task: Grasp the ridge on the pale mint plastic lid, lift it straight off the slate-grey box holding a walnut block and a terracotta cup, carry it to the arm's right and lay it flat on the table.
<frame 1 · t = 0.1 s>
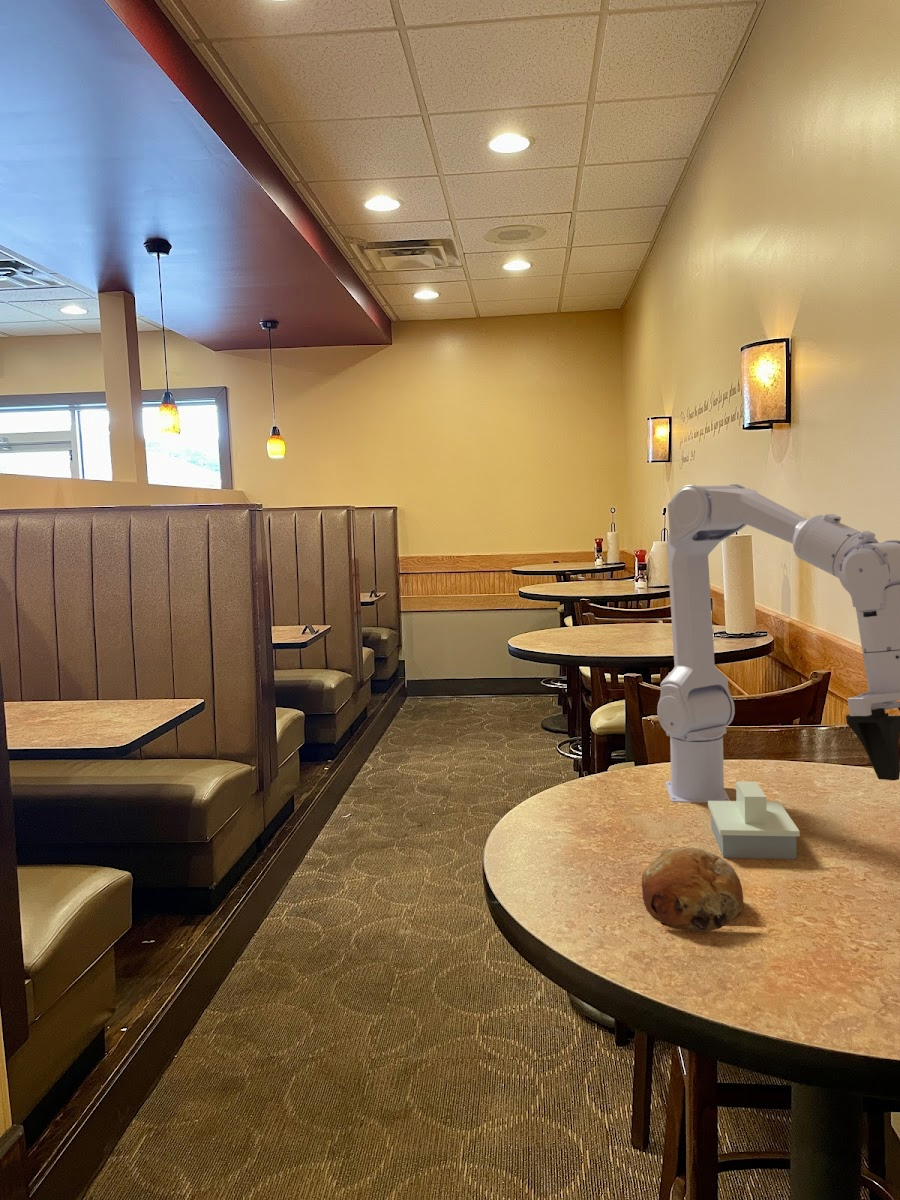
box: (751, 846, 102), on the table
bread roll: (691, 913, 86), on the table
lid: (751, 820, 102), point 3 cm above the table, touching box
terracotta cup: (754, 848, 100), resting on box
walnut block: (749, 837, 103), resting on box
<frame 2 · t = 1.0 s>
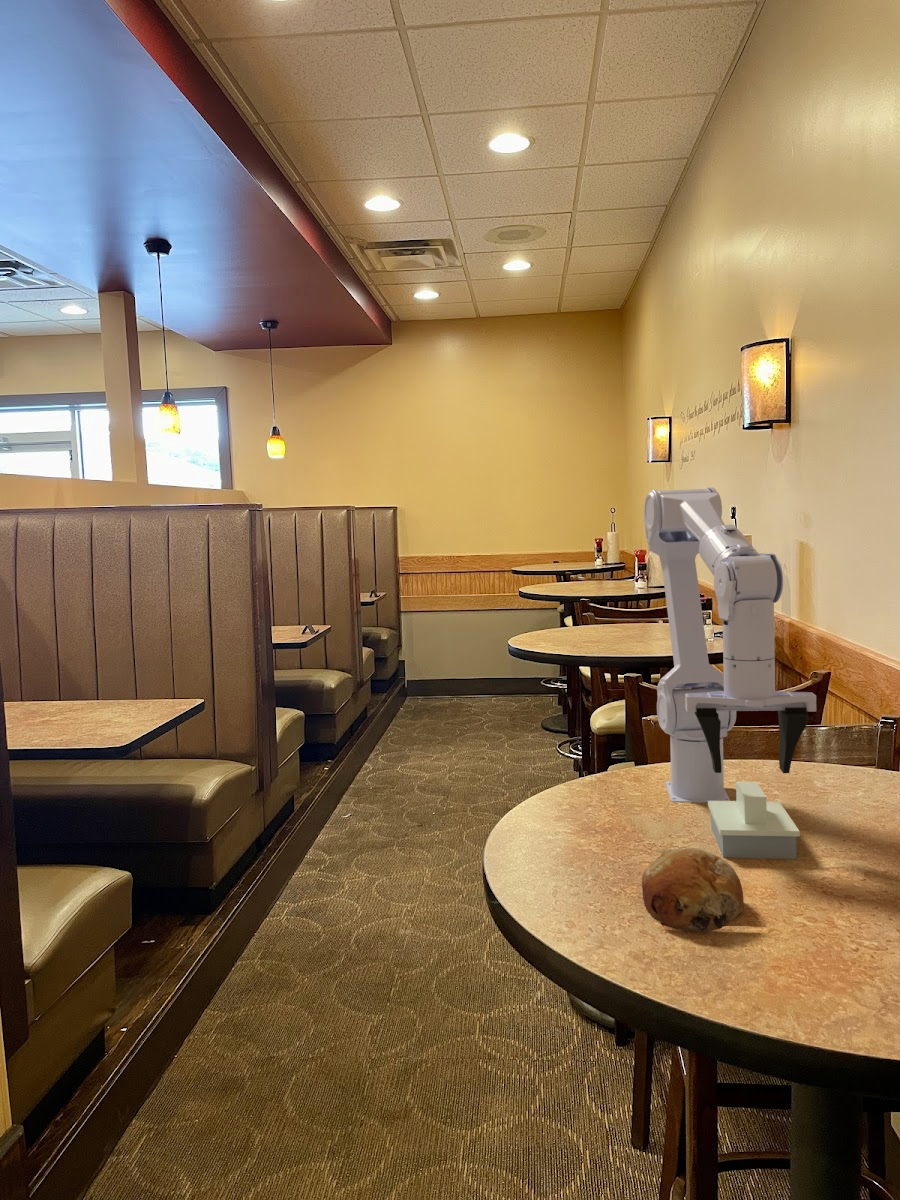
hand: (750, 770, 101), 9 cm above the table, tool pointing down, fingers open, 7 cm apart
nothing on the table moved.
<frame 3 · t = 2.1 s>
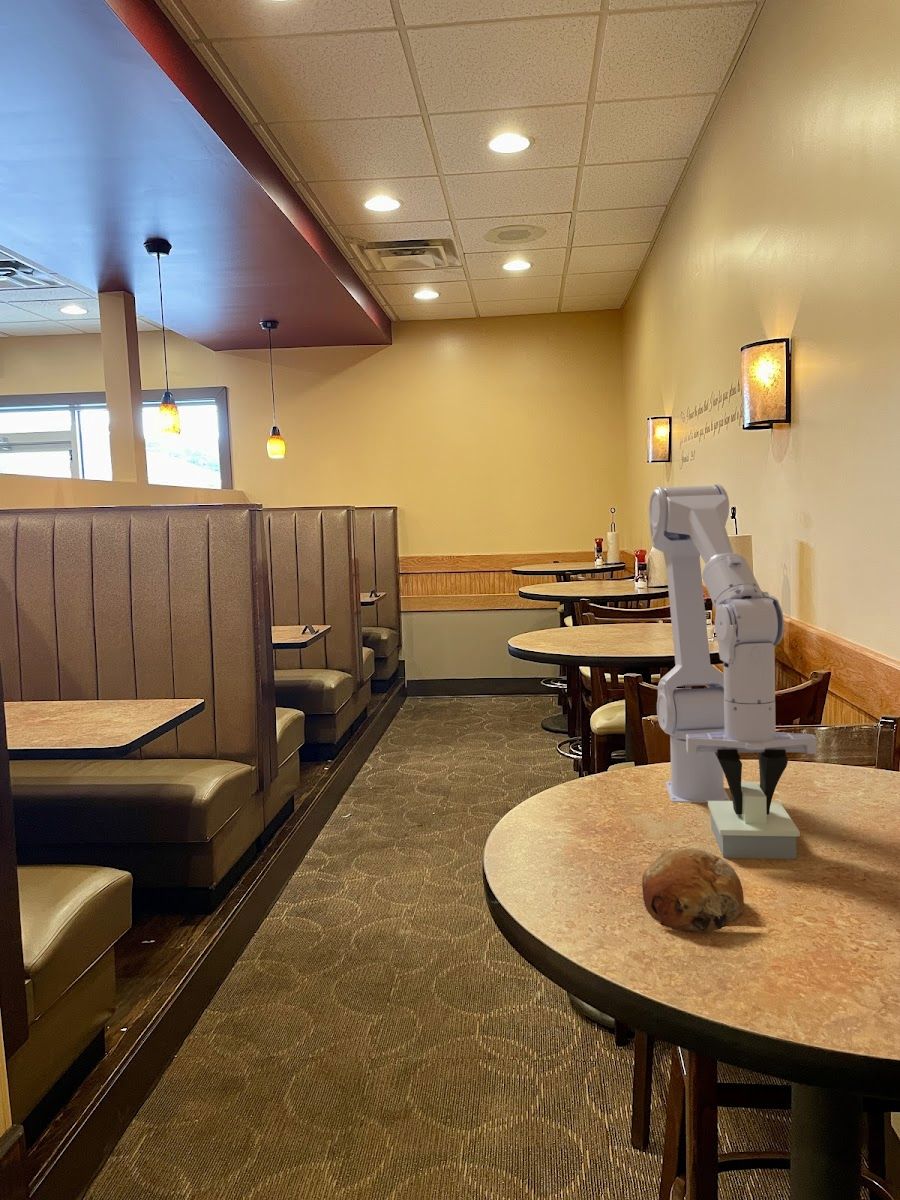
hand: (751, 811, 101), 4 cm above the table, tool pointing down, fingers closed on lid, 2 cm apart
lid: (751, 820, 102), point 3 cm above the table, touching box, gripper
everything else where it was.
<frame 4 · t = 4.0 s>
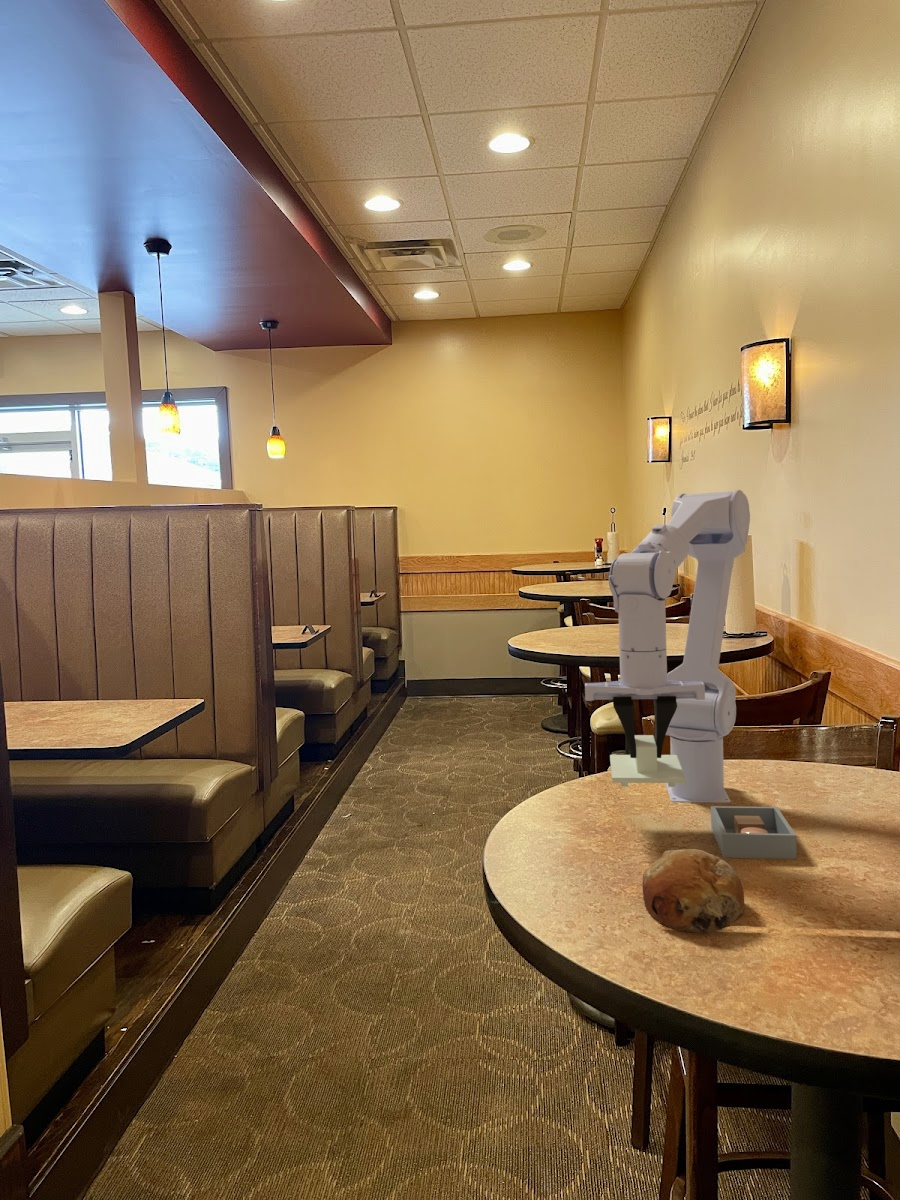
hand: (645, 756, 107), 10 cm above the table, tool pointing down, fingers closed on lid, 2 cm apart
lid: (645, 770, 107), point 8 cm above the table, touching gripper
everything else where it was.
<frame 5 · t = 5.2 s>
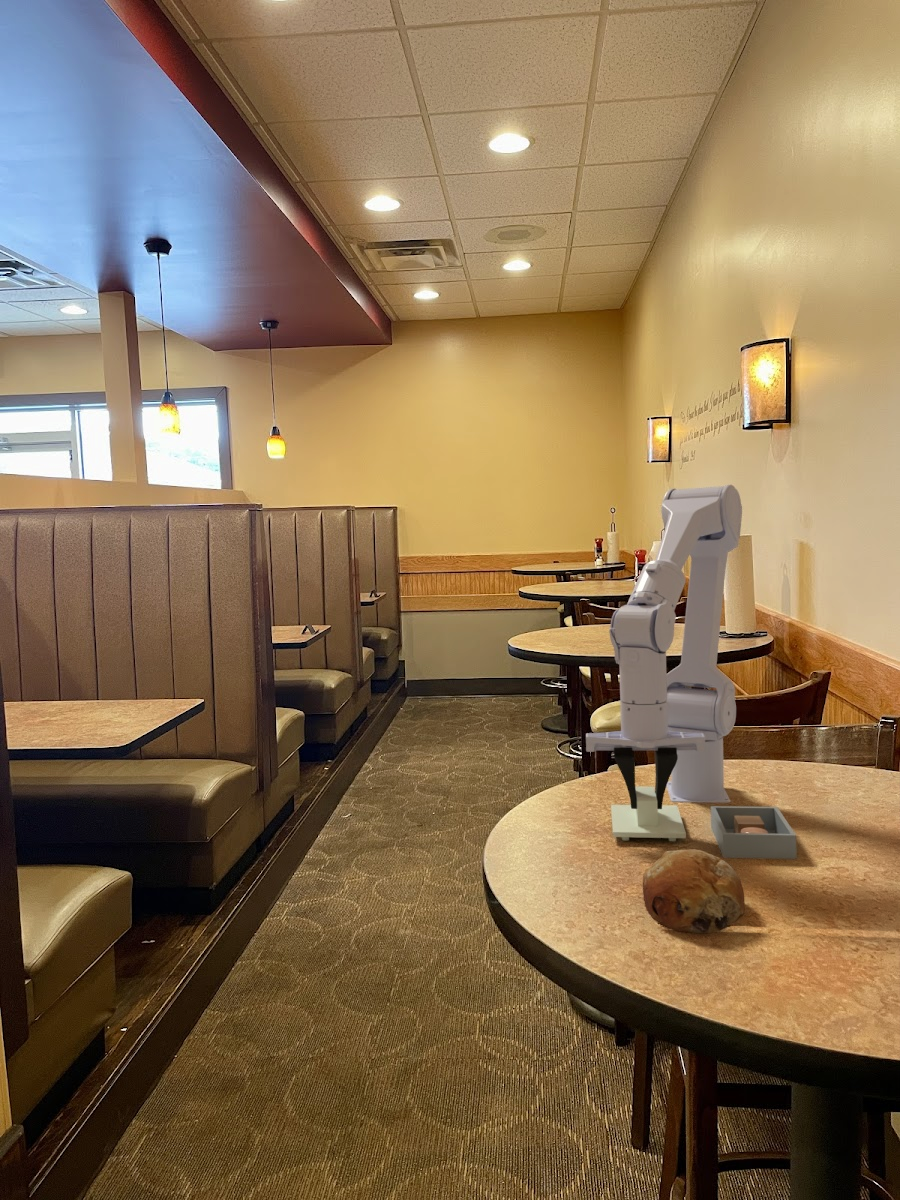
hand: (646, 806, 107), 3 cm above the table, tool pointing down, fingers closed on lid, 2 cm apart
lid: (646, 822, 108), point 1 cm above the table, touching gripper
everything else where it was.
when the fingers open (3 cm above the table, at t = 5.6 s): lid stays where it is, point 1 cm above the table.
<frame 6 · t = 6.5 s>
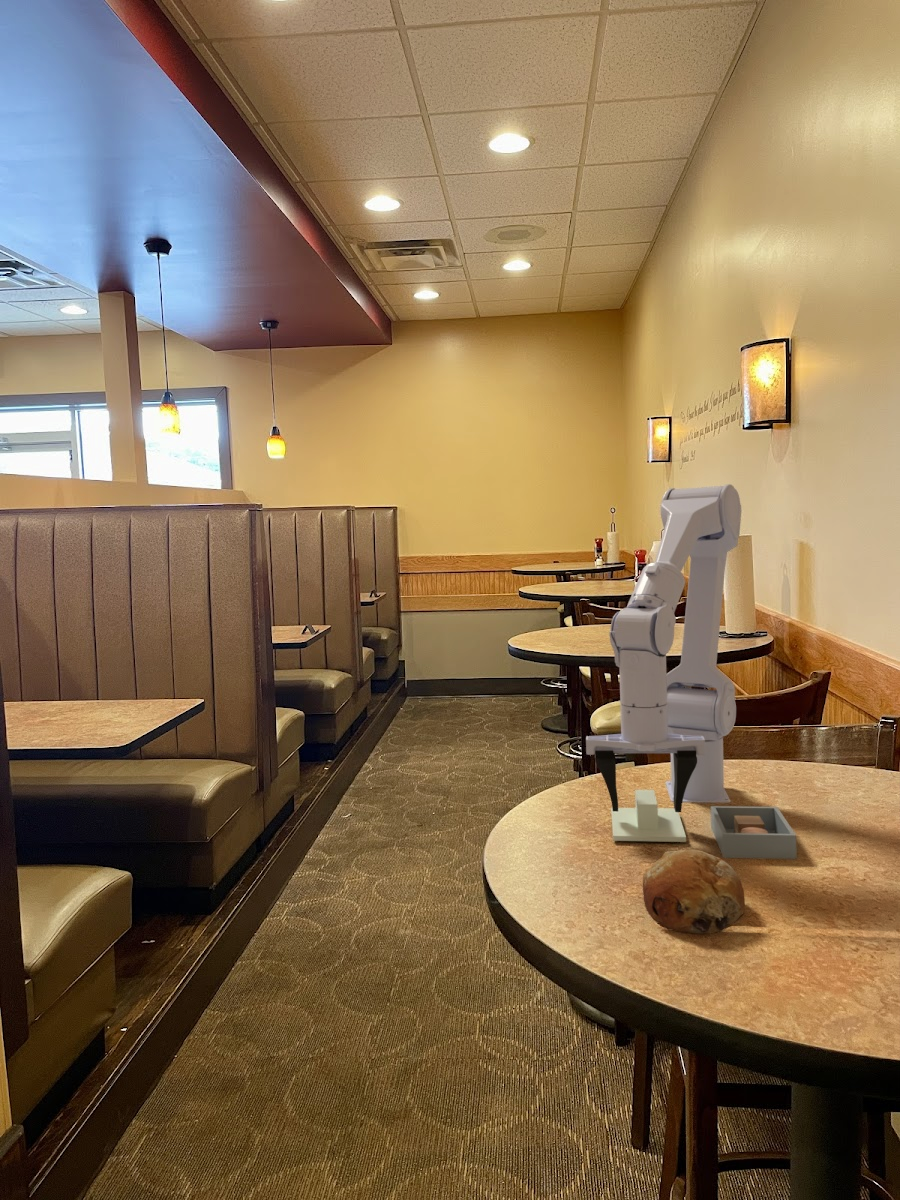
hand: (646, 809, 108), 3 cm above the table, tool pointing down, fingers open, 7 cm apart
lid: (646, 826, 108), point 1 cm above the table
everything else where it was.
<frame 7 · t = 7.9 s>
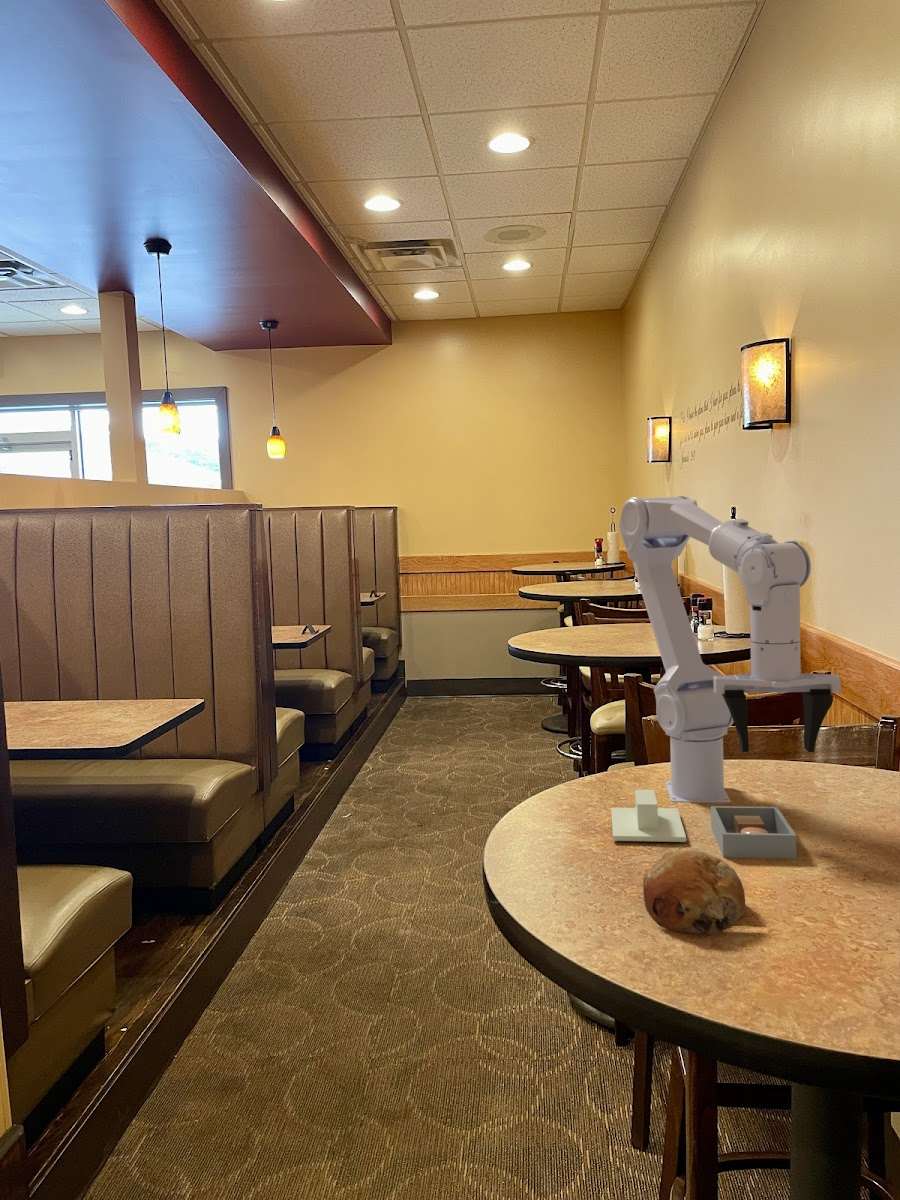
hand: (776, 750, 105), 10 cm above the table, tool pointing down, fingers open, 7 cm apart
nothing on the table moved.
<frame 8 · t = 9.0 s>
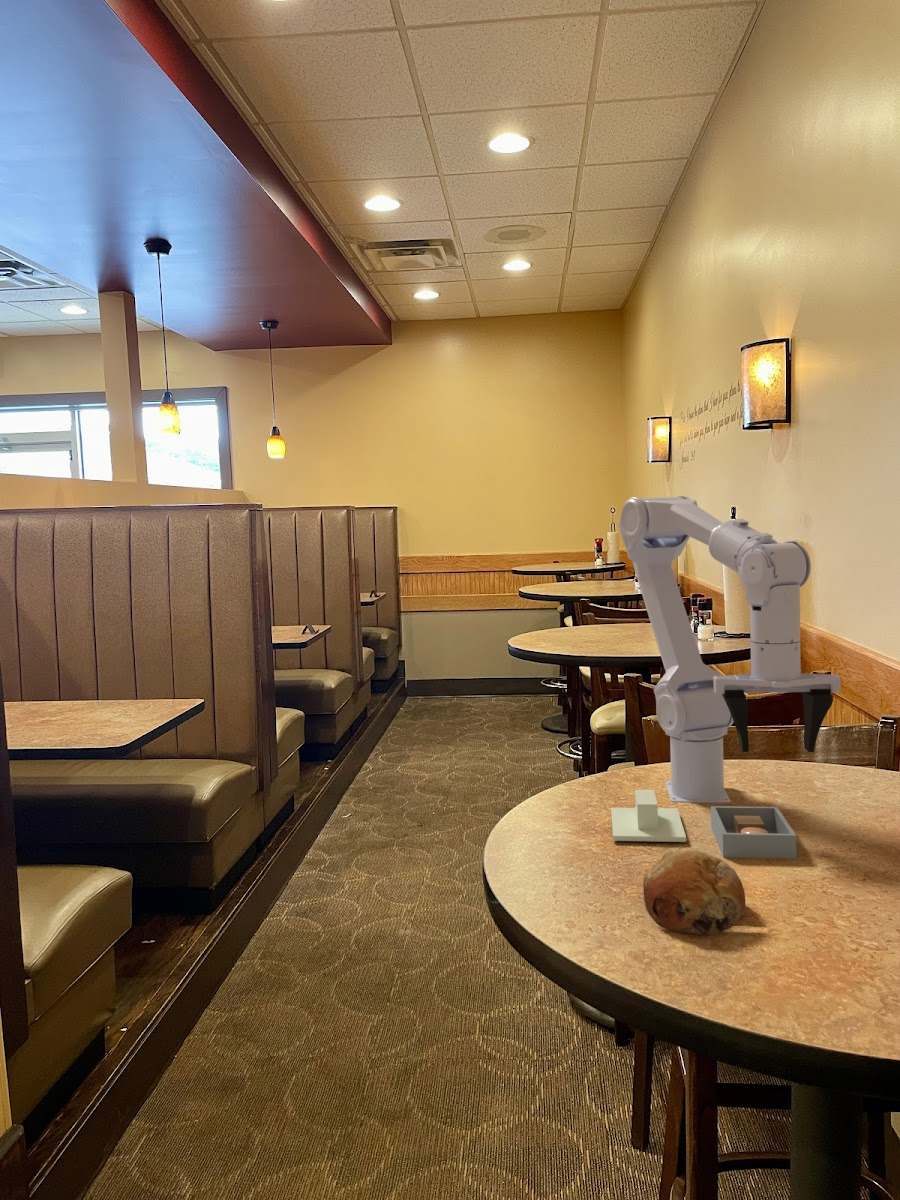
hand: (776, 750, 105), 10 cm above the table, tool pointing down, fingers open, 7 cm apart
nothing on the table moved.
at the end: lid inside the target area (0.1 cm from its centre), point 0.8 cm above the table; lid tilted 0°; lid touching table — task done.
